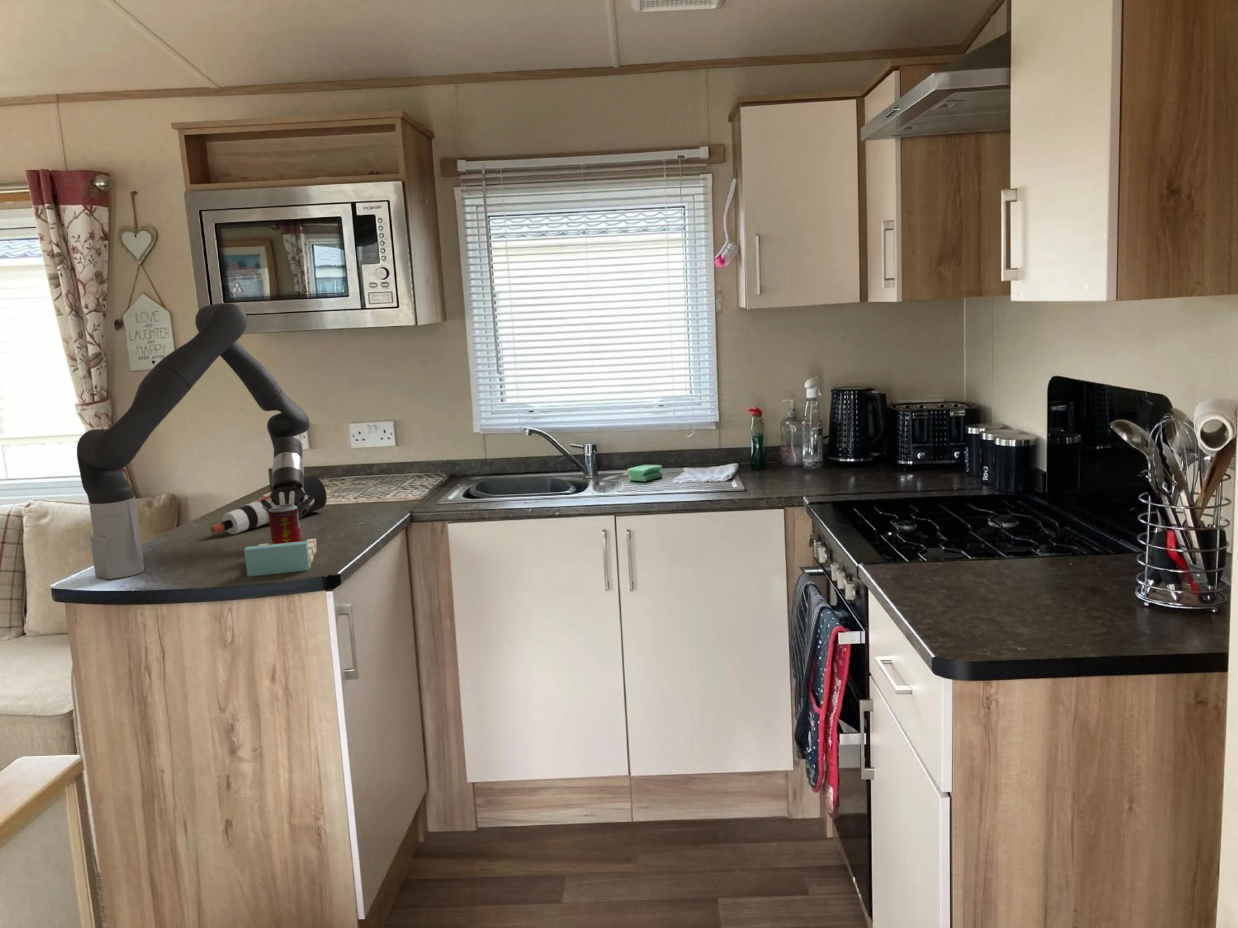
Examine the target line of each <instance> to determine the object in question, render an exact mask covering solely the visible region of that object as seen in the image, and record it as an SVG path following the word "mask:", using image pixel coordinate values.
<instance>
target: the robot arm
mask: <svg viewBox="0 0 1238 928" xmlns="http://www.w3.org/2000/svg"><path fill="white" fill-rule="evenodd" d="M194 320H195V321H194V323H195V328H196V329H197V331H198V333H197V334H196V335H194V336H193V337H192V339H190V340H188V341H187V342H186V343H184V344H183V345H180V346H179V347H178V348H177V349H174V350H172V352H170V353H168V354H167V355H166V356H165V357H163V358H162V359H161V360H160V361H159V362H157V363H156V364H155V365H154V366H153V368H152V369H150V371H148V373H146V375H145V376H144V378H143V379H142V380H141V381H140V384H139V385H138V388H137V390H136V393H135V396H134V398H133V402H132V403H131V405H130V407H129V408H128V410H127V411H126V412H125V413H124V414H123V415H122V416H121V417H120V418H119V419H118V420H117V421H116V422H115V423H114V424H113V425H112V426H110V427H109V428H107V429H106V428H94V429H91V430H88V431H86V432H84V433H83V434H82V435H81V436H80V438H79V439H78V442H77V446H76V457H77V465H78V469H79V474H80V480H81V485H82V488H83V490H84V492H85V494H86V496H87V499H88V504H89V512H90V519H91V527H92V535H90V536H89V540H90V541H89V542H90V546H91V555H92V560H93V568H94V574H95V577H97V578H100V579H104V580H107V579H110V580H113V579H120V578H128V577H131V576H136V575H138V574H141V573H143V572H145V564H144V558H143V552H142V543H141V536H140V530H139V522H138V515H137V514H138V513H137V506H136V499H135V493H134V487H133V485H132V484H131V483H130V482H128V480H127V479H126V478H125V476H124V474H123V470H122V469H124V468H126V467H127V466H128V465H129V464H130V463H131V462H132V461H133V459H134V458H135V457H136V455H137V454H138V453H139V452H140V450H141V448H142V447H143V446H144V445H145V443H146V441H147V440H148V438H149V437H150V436H151V434H152V433H153V432H154V430H155V429H156V428H157V427H158V426H159V425H160V424H161V423H162V421H164V419H165V418H166V417H167V416H168V415H169V414H170V413H171V411H172V410H173V409H174V408H175V407H176V406H177V405H178V404H179V403H180V402H181V401H182V400H183V399H184V397H185V396H186V395H187V394H188V393H189V392H190V390H191V389H192V388H193V387H194V386H195V384H196V383H197V382H198V381H199V380H200V379H201V377H203V375H204V374H205V373H206V372H207V371H208V370H209V368H210V367H211V366H212V364H213V363H214V362H215V361H216V360H217V359H218V358H219V357H221V359H222V360H223V361H225V363H226V364H227V365H228V366H229V367H230V368H231V370H232V371H233V372H234V373H235V374H236V376H237V377H238V378H239V379H240V381H241V382H242V383H243V385H244V386H245V388H246V389H247V391H248V392H249V393H250V394H251V396H252V398H253V400H254V401H255V402H256V404H257V406H259V408H260V409H261V410H262V411H264V412H272V411H273V412H275V411H276V412H277V411H278V412H279V413H276V414H274V415H272V416H270V418H269V419H268V420H267V424H266V429H267V431H268V434H269V437H270V439H271V443H272V447H273V463H272V470H271V471H272V475H271V476H272V479H271V481H272V485H271V486H272V487H271V489H272V490H271V493H270V498H269V499H267V500H262V501H261V503H262V506H263V509H264V510H266V511H267V512H268V511H269V509H271V508H272V507H273V505H272V502H273V503H274V504H275V505H276V506H277V505H282V504H293V505H295V506H297V507H298V506H299V505H300V504H301V502H302V501H304V502H303V503H302V504H301V505H300V507H299V508H298V515H299V519H302V518H303V517H304V516H305V515H304V514H305V513H306V512H307V511H308V510H309V509H310V508H311V507H312V506H313V504H314V498H313V496H308V495H306V493H305V491H304V477H305V471H304V470H305V469H304V462H303V444H302V442H301V440H300V439H298V438H296V437H297V436H299V435H302V434H305V433H306V432H308V430H309V428H310V419H309V416H308V414H307V413H306V412H305V410H304V409H303V408H302V407H301V406H300V405H298V404H297V403H296V402H295V401H293V400H292V398H290V396H288V395H287V394H286V393H285V392H284V391H283V389H282V388H281V386H280V385H279V383H278V382H277V381H276V378H275V377H274V376H273V375H272V373H271V371H269V370H268V369H267V368H266V366H264V365H263V363H261V362H259V360H258V359H256V358H255V357H254V356H252V354H251V353H250V352H248V350H247V349H246V348H244V346H243V345H242V344H241V342H240V341H239V339H240V338H241V337H242V336H243V334H244V333H245V331H246V328H247V325H248V322H247V321H248V319H247V315H246V312H245V310H244V309H243V308H242V307H241V306H239V305H238V304H235V303H227V302H225V303H215V304H208V305H205V306H203V307H201V308H200V309H199V310H198V311H197V313H196V315H195V319H194Z"/></svg>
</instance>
